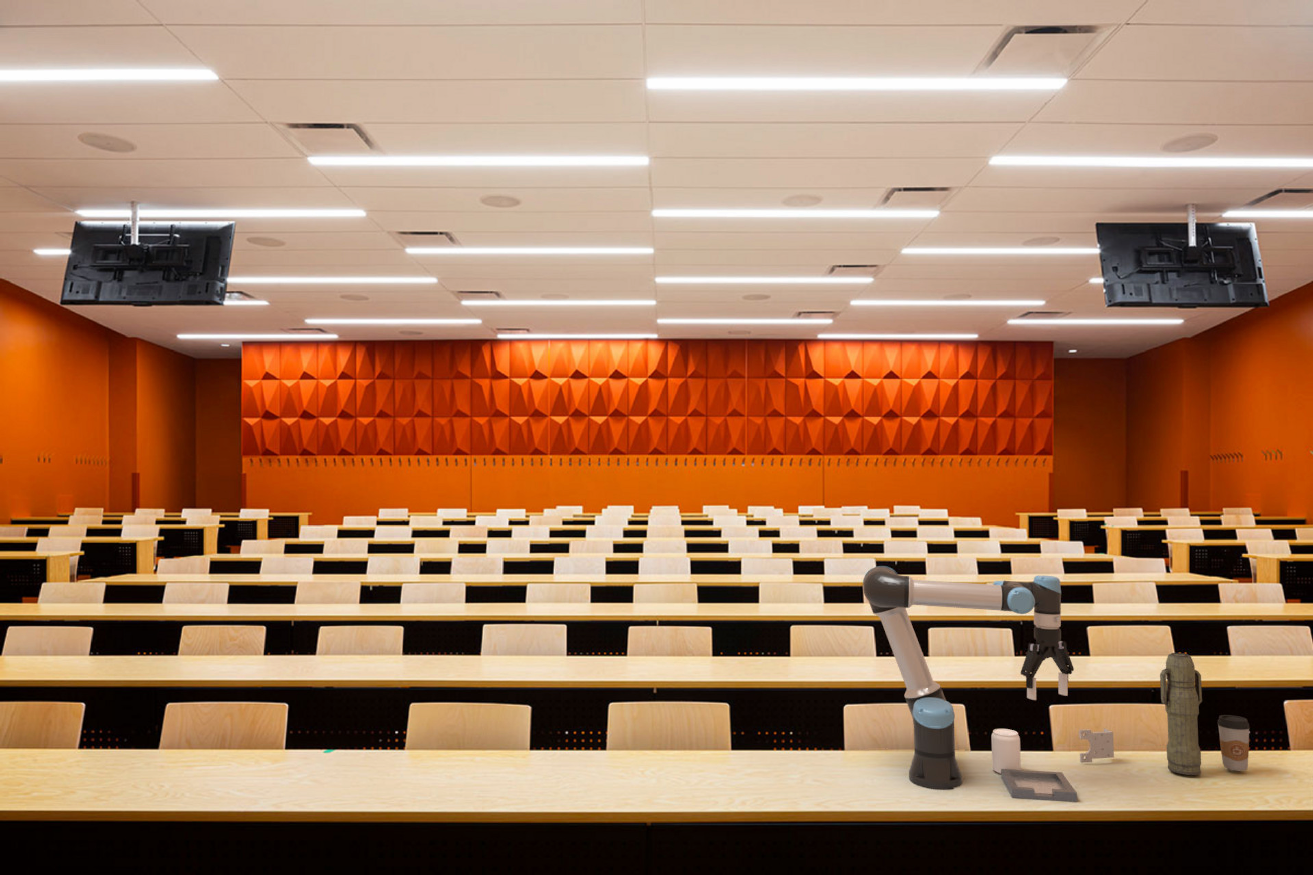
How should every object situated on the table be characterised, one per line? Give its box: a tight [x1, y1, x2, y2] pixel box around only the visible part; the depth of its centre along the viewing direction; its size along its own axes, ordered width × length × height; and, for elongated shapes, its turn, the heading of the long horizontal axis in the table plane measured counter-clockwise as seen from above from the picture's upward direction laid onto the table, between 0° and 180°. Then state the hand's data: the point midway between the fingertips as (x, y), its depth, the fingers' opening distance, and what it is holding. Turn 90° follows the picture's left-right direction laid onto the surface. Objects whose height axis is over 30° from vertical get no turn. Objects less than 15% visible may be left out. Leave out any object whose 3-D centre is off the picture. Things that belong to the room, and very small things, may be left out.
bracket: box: [1078, 727, 1115, 763], centre depth 275 cm, size 11×4×10 cm, turn 98°
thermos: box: [1159, 652, 1203, 776], centre depth 264 cm, size 9×12×35 cm
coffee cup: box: [1217, 714, 1250, 772], centre depth 265 cm, size 8×8×15 cm
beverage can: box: [991, 728, 1022, 775], centre depth 264 cm, size 8×8×12 cm
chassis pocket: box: [1000, 769, 1078, 803], centre depth 249 cm, size 17×17×2 cm
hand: (1047, 696), depth 264 cm, fingers open, 13 cm apart
